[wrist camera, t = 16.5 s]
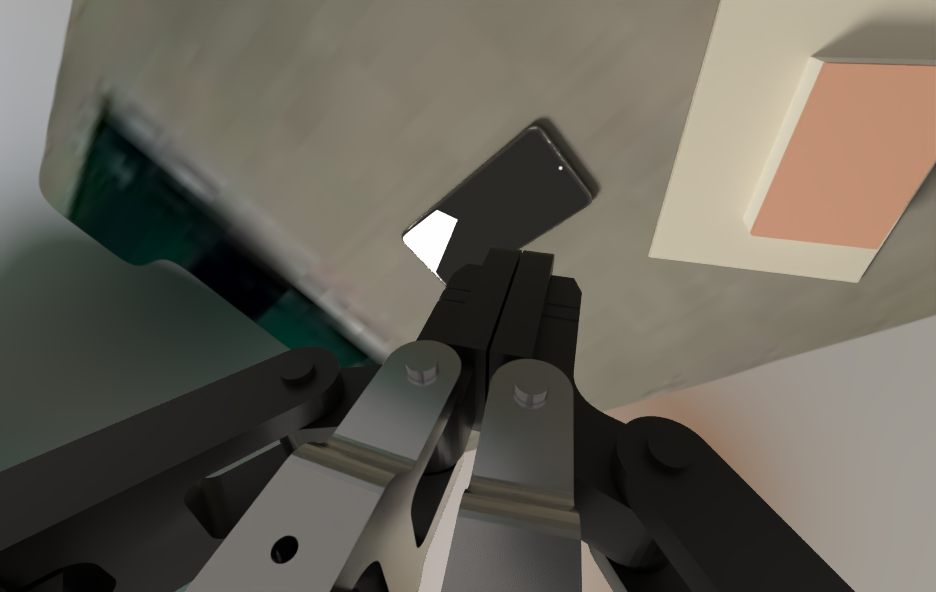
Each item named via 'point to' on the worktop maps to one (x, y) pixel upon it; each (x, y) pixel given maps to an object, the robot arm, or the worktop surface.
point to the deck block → (848, 152)
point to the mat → (769, 124)
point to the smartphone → (500, 205)
